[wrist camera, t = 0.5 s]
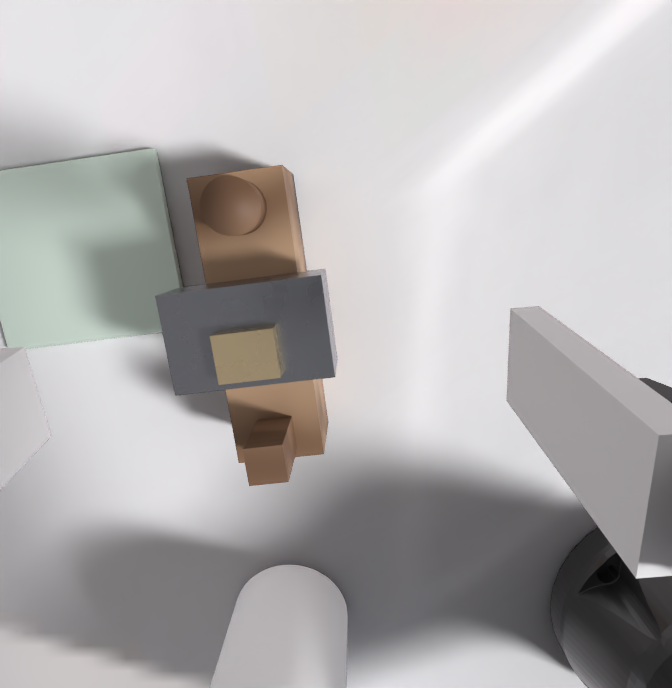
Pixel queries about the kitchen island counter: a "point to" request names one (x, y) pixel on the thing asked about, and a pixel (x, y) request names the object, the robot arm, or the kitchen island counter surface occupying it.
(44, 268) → the mat
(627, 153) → the kitchen island counter surface
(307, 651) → the beverage can
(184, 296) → the dark grey rectangular block
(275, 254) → the hand plane
